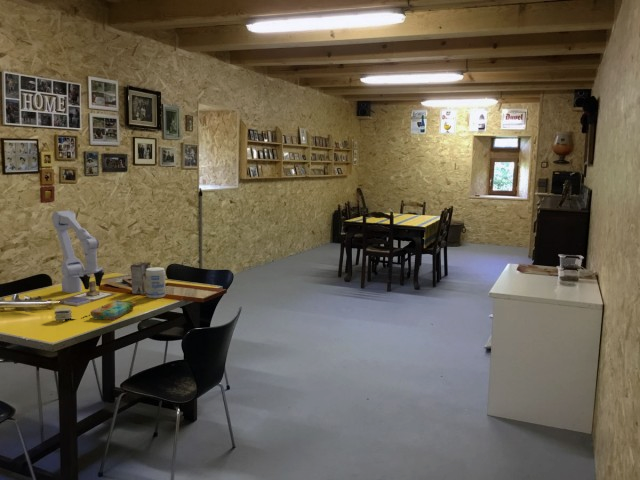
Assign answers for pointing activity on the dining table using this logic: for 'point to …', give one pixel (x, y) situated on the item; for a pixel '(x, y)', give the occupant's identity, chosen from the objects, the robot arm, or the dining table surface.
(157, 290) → the supplement tub
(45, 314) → the dining table surface
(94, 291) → the stamp
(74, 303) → the ink pad
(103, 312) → the puzzle game
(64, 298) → the desk board
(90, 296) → the paper
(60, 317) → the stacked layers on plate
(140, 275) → the coffee box
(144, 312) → the dining table surface
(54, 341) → the dining table surface
